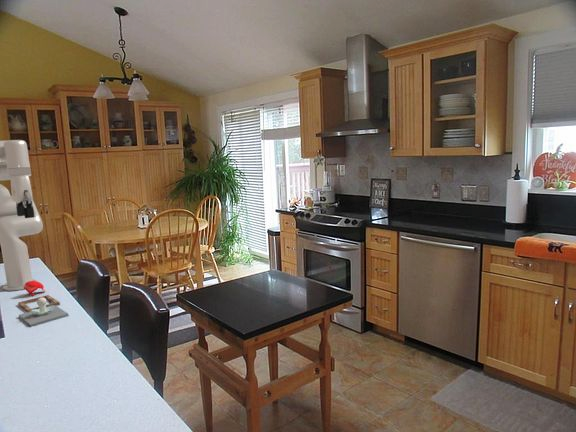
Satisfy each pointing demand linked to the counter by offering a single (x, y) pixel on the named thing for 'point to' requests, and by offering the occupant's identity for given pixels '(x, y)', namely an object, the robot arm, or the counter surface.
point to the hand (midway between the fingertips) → (26, 216)
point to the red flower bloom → (33, 286)
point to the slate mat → (43, 316)
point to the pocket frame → (25, 307)
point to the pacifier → (42, 308)
